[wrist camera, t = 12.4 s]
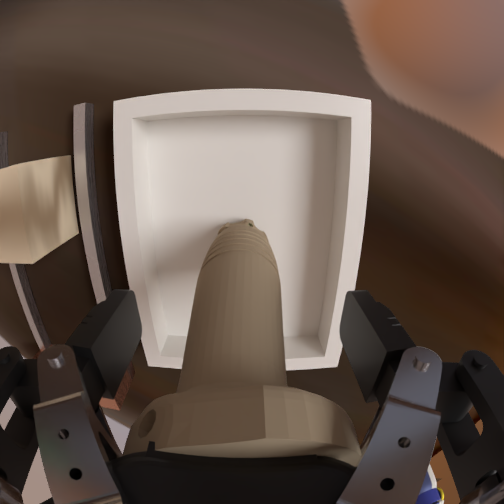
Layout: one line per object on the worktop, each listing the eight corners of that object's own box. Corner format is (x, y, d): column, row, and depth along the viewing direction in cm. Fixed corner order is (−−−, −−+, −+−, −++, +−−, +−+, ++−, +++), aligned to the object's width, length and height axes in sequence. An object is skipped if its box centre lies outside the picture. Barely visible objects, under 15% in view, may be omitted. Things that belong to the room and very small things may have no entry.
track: (1, 134, 15) (-38, 139, 11) (93, 104, 15) (52, 97, 11) (51, 356, 24) (31, 385, 19) (135, 372, 24) (120, 410, 19)
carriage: (13, 168, 16) (-36, 181, 11) (71, 155, 16) (17, 164, 11) (22, 235, 18) (-22, 261, 13) (79, 233, 19) (32, 264, 13)
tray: (134, 107, 16) (113, 101, 13) (351, 106, 16) (371, 100, 13) (158, 340, 22) (148, 365, 19) (327, 341, 23) (337, 366, 20)
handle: (302, 232, 18) (392, 461, 5) (233, 291, 20) (218, 511, 7) (250, 179, 17) (255, 408, 3) (182, 247, 19) (91, 466, 5)
